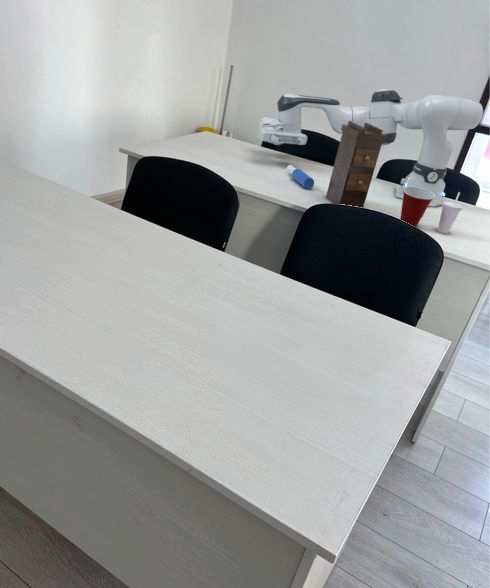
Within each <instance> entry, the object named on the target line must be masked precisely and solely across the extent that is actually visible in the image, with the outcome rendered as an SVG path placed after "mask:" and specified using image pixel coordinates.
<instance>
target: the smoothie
mask: <svg viewBox="0 0 490 588" xmlns="http://www.w3.org/2000/svg"><path fill="white" fill-rule="evenodd" d="M460 195H461V192H460V191H458V193H457V195H456V198H455V199H454V200H455V201H454V202H452V201H443V205H441V206H442V209H441V213H440V217H439V222H438V226H437V230H436V231H437V232H439V233H440V234H445V235H448V234H449V233H450V231H451V228H452V227H453V225H454V223H455V221H456V219H457V217H458V216H459V213H460V212H461V211H462V210H463V206H462V205H461V204H459V203H457V202H458V199H459V196H460Z"/></svg>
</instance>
